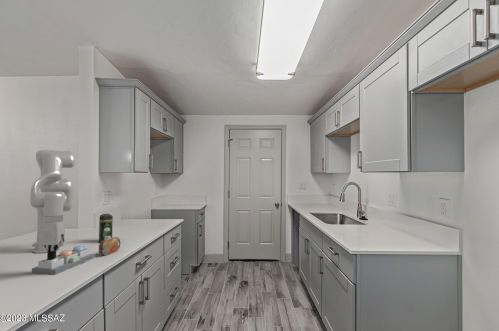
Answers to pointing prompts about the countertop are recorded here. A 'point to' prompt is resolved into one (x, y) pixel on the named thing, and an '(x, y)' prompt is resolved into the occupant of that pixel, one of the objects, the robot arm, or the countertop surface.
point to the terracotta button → (66, 253)
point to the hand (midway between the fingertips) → (51, 259)
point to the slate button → (78, 248)
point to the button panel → (63, 262)
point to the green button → (51, 260)
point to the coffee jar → (105, 227)
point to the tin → (109, 246)
